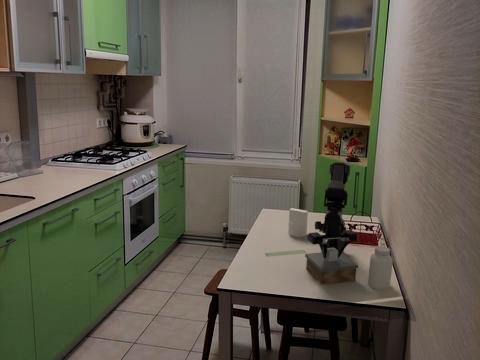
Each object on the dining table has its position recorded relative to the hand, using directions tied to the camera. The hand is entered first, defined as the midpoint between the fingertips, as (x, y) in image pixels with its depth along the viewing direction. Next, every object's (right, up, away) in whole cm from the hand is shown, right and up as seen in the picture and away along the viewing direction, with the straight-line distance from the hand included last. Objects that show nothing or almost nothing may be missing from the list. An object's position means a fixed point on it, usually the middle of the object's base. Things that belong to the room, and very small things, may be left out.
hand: (331, 258), depth 180 cm
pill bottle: (+17, -10, -6) cm, 20 cm away
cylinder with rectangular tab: (-7, +3, +51) cm, 51 cm away
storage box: (0, -8, +2) cm, 8 cm away
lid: (0, -2, 0) cm, 2 cm away
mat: (-13, -4, +17) cm, 22 cm away
